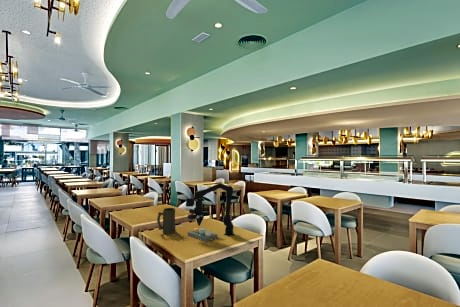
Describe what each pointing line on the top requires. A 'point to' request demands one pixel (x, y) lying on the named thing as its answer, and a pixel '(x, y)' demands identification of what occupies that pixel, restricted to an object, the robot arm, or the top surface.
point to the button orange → (196, 230)
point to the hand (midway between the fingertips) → (199, 225)
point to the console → (202, 236)
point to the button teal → (201, 231)
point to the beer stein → (167, 221)
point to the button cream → (208, 233)
